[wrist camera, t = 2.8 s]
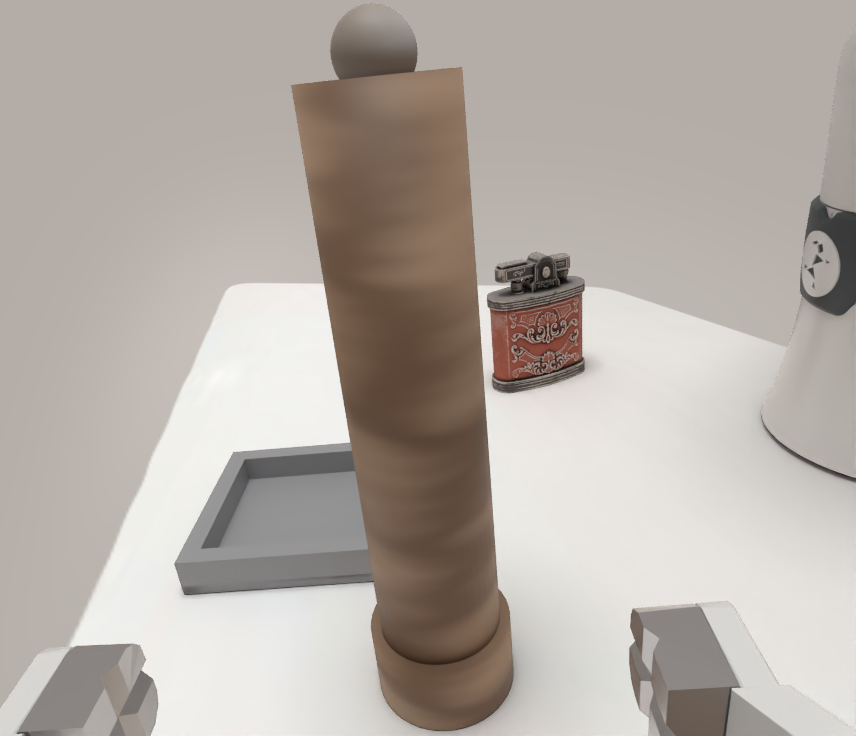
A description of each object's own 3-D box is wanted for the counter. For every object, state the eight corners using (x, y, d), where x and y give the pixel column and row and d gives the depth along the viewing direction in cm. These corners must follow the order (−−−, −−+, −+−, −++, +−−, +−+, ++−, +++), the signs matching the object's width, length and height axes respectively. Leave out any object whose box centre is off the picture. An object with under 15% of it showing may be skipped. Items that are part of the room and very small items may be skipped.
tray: (400, 465, 43) (396, 439, 42) (390, 579, 33) (385, 548, 32) (239, 478, 43) (233, 452, 42) (184, 594, 34) (174, 563, 33)
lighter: (569, 358, 56) (568, 241, 52) (593, 372, 53) (594, 249, 49) (484, 381, 53) (476, 260, 49) (505, 397, 50) (498, 270, 46)
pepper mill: (506, 615, 30) (467, 2, 20) (520, 726, 25) (478, -22, 15) (384, 624, 30) (286, 22, 20) (375, 734, 25) (238, 5, 15)
